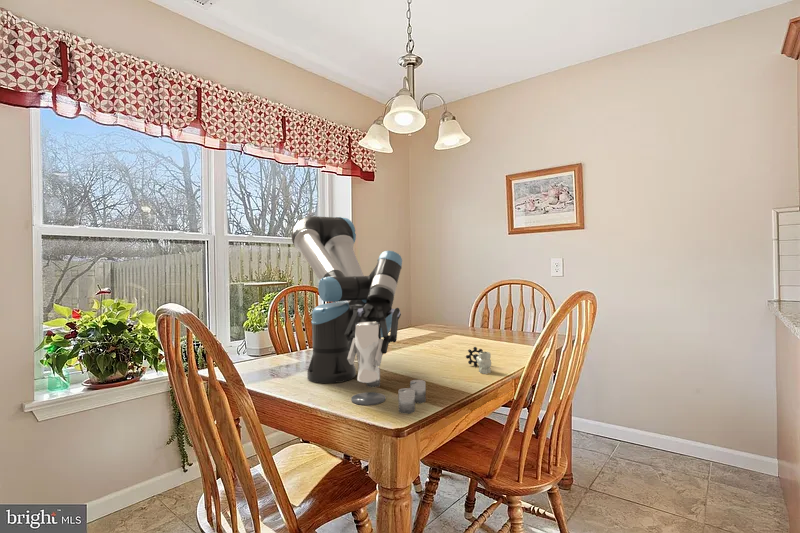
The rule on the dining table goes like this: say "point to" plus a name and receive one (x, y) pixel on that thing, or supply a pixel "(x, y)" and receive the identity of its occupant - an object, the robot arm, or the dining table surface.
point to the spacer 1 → (375, 384)
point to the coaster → (368, 398)
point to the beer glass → (367, 350)
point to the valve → (480, 360)
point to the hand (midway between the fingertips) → (363, 362)
